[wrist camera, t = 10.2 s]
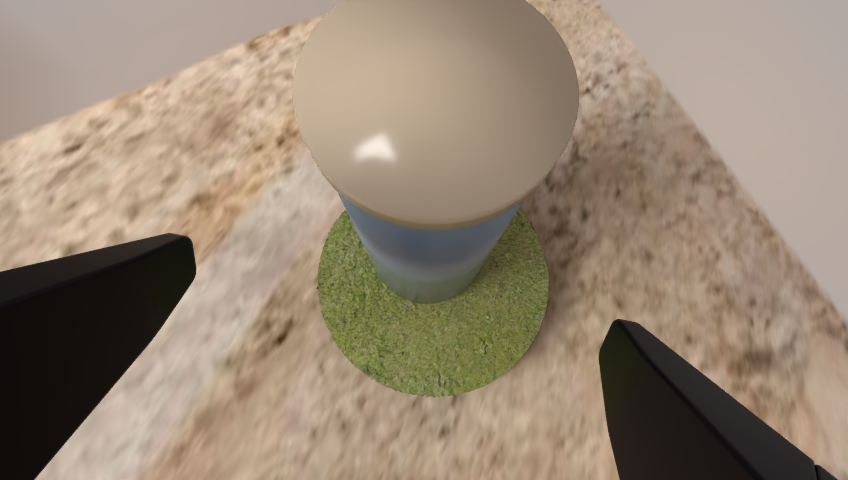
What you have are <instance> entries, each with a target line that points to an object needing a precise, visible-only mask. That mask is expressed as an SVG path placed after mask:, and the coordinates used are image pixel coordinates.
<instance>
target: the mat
mask: <svg viewBox="0 0 848 480" xmlns="http://www.w3.org/2000/svg"><path fill="white" fill-rule="evenodd" d="M545 257H546V256H545V253H544V251H543V248H542V244H541V242H540V239H539V237H538V235H537V233H536V232H534V228H533V227H532V223H531V222H529V221H528V218H527V216H526V215H525V214H524V213H523V212H522V210H521V209H520V208H518V210H517V212H516V213H515V215H514V216H513V218H512V220H511V221H510V223H509V224H508V226H507V227H506V229H505V231H504V232H503V234H502V235H501V237H500V239H499V240H498V242H497V243H496V245H495V247H494V248H493V250H492V251H491V253H490V255H489V256H488V258H487V259H486V261H485V263H484V264H483V266H482V267H481V269H480V271H479V272H478V274H477V275H476V277H475V278H474V280H473V281H472V283H471V284H470V285H469V286H468V287H467V288H466V289H465V290H464V291H463V292H462V293H460V294H459V295H457V296H456V297H454V298H452V299H449V300H447V301H444V302H441V303H435V304H420V303H414V302H410V301H408V300H405V299H403V298H401V297H399V296H397V295H396V294H394V293H393V292H391V291H390V290H389V289H388V288H387V287H386V286H385V285H384V284H383V282H382V281H381V280H380V278H379V276H378V275H377V273H376V271H375V269H374V267H373V264H372V262H371V260H370V258H369V256H368V254H367V252H366V250H365V248H364V246H363V244H362V242H361V240H360V238H359V236H358V233H357V231H356V229H355V227H354V225H353V223H352V221H351V219H350V217H349V215H348V213H347V211H346V209H345V211H344V212H343V213H342V214H341V215H340V217H339V218H338V219H337V221H336V222H335V223H334V225H333V227H332V229H331V232H329V236H328V238H327V239H326V242H325V244H324V247H323V251H322V255H321V259H320V264H319V270H318V287H317V289H318V290H319V299H320V307H321V309H322V311H321V312H322V314H323V317H324V320H325V322H326V325H327V327H328V329H329V331H330V332H331V333H332V335H333V338H334V341H335V342H336V344H337V346H338V347H339V349H341V350H342V352H343V354H344V355H345V356H346V357H347V358H348V359H349V360H350V361H351V362H352V364H355V367H357V368H358V369H360V370H361V371H362V372H363V373H365V374H366V375H367V376H368V377H370V378H371V379H375V380H376V381H377V382H379V383H380V384H382V385H384V386H386V387H389V388H392V389H394V390H396V391H397V390H399V391H401V392H404V393H408V394H413V395H416V394H417V395H421V396H424V395H425V396H427V397H429V396H433V397H436V396H438V397H441V396H450V395H458V394H463V393H464V392H470V391H473V390H475V389H477V388H480V387H483V386H484V385H486V384H488V383H490V382H492V381H494V380H495V379H497V378H498V377H500V376H502V375H503V374H505V373H506V372H507V371H508V370H509V369H510V368H512V367H513V366H514V364H516V363H517V362H518V360H519V359H520V358H521V357H522V356H523V355H524V354H525V353H526V351H527V350H528V349H529V347H530V346H531V344H532V342H533V341H534V339H535V337H536V335H537V333H538V331H539V328H540V327H541V324H542V321H543V318H544V316H545V312H546V309H545V308H546V306H547V301H548V292H549V288H548V286H549V274H548V266H547V264H546V261H547V260H546V258H545Z"/></svg>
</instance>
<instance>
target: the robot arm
mask: <svg viewBox="0 0 848 480" xmlns="http://www.w3.org/2000/svg"><path fill="white" fill-rule="evenodd" d="M195 275H196V263H195V256H194V249H193V243H192V241H191V239H190V238H189V237H187V236H184V235H178V234H173V233H167V234H163V235H158V236H154V237H149V238H145V239H141V240H136V241H132V242H128V243H123V244H119V245H115V246H110V247H106V248H102V249H97V250H93V251H89V252H84V253H80V254H76V255H71V256H67V257H62V258H58V259H54V260H49V261H45V262H41V263H36V264H32V265H28V266H23V267H19V268H15V269H10V270H6V271H2V272H0V480H35V478H36V477H37V476H38V475H39V474H40V472H41V471H42V470H43V469H44V468H45V467H46V465H47V464H48V463H49V462H50V461H51V459H52V458H53V457H54V456H55V455H56V453H57V452H58V451H59V450H60V449H61V448H62V446H63V445H64V444H65V443H66V442H67V440H68V439H69V438H70V437H71V436H72V435H73V433H74V432H75V431H76V430H77V429H78V427H79V426H80V425H81V424H82V423H83V422H84V420H85V419H86V418H87V417H88V416H89V414H90V413H91V412H92V411H93V410H94V408H95V407H96V406H97V405H98V404H99V403H100V401H101V400H102V399H103V398H104V397H105V395H106V394H107V393H108V392H109V391H110V390H111V388H112V387H113V386H114V385H115V384H116V382H117V381H118V380H119V379H120V378H121V377H122V375H123V374H124V373H125V372H126V371H127V369H128V368H129V367H130V366H131V365H132V363H133V362H134V361H135V360H136V359H137V358H138V356H139V355H140V354H141V353H142V352H143V350H144V349H145V348H146V347H147V346H148V344H149V343H150V342H151V341H152V339H153V338H154V337H155V336H156V334H157V333H158V331H159V330H160V329H161V327H162V326H163V324H164V323H165V322H166V320H167V319H168V317H169V316H170V314H171V313H172V311H173V310H174V308H175V307H176V305H177V304H178V302H179V301H180V300H181V298H182V297H183V295H184V294H185V292H186V291H187V289H188V288H189V286H190V285H191V283H192V282H193V280H194V278H195ZM599 365H600V373H601V381H602V389H603V397H604V405H605V413H606V420H607V427H608V432H609V437H610V441H611V445H612V449H613V453H614V458H615V462H616V466H617V470H618V474H619V478H620V480H837V479H836V478H835V477H834V476H832V475H831V474H830V473H829V472H827V471H826V470H825V469H824V468H822V467H821V466H820V465H815V464H814V461H813V460H812V459H811V458H809V457H808V456H807V455H806V454H804V453H803V452H802V451H800V450H799V449H798V448H797V447H795V446H794V445H793V444H791V443H790V442H789V441H788V440H786V439H785V438H784V437H783V436H781V435H780V434H779V433H777V432H776V431H775V430H774V429H772V428H771V427H770V426H769V425H767V424H766V423H765V422H763V421H762V420H761V419H760V418H758V417H757V416H756V415H754V414H753V413H752V412H751V411H749V410H748V409H747V408H746V407H744V406H743V405H742V404H740V403H739V402H738V401H737V400H735V399H734V398H733V397H732V396H730V395H729V394H728V393H726V392H725V391H724V390H723V389H721V388H720V387H719V386H718V385H716V384H715V383H714V382H712V381H711V380H710V379H709V378H707V377H706V376H705V375H703V374H702V373H701V372H700V371H698V370H697V369H696V368H695V367H693V366H692V365H691V364H689V363H688V362H687V361H686V360H684V359H683V358H682V357H681V356H679V355H678V354H677V353H675V352H674V351H673V350H672V349H670V348H669V347H668V346H667V345H665V344H664V343H663V342H661V341H660V340H659V339H658V338H656V337H655V336H654V335H653V334H651V333H650V332H649V331H647V330H646V329H645V328H644V327H642V326H641V325H640V324H638V323H636V322H632V321H627V320H622V319H617V320H615V321H614V322H613V323H612V325H611V326H610V329H609V331H608V333H607V335H606V337H605V340H604V342H603V344H602V346H601V348H600V352H599Z"/></svg>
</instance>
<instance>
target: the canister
mask: <svg viewBox="0 0 848 480" xmlns="http://www.w3.org/2000/svg"><path fill="white" fill-rule="evenodd" d="M293 105H294V112H295V116H296V120H297V124H298V128H299V130H300V132H301V135H302V137H303V139H304V142H305V144H306V146H307V148H308V150H309V151H310V153H311V155H312V157H313V159H314V161H315V163H316V164H317V166H318V168H319V169H320V171H321V173H322V174H323V176H324V177H325V178H326V179H327V181H328V182H329V183H330V184H331V185H332V187H333V188H334V189H335V190H336V191H337V192H338V194H339V196H340V198H341V200H342V202H343V204H344V207H345V209H346V211H347V213H348V215H349V217H350V219H351V221H352V223H353V225H354V227H355V229H356V231H357V233H358V236H359V238H360V240H361V242H362V244H363V246H364V248H365V250H366V252H367V254H368V256H369V258H370V260H371V262H372V264H373V267H374V269H375V271H376V273H377V275H378V276H379V278H380V280H381V281H382V282H383V284H384V285H385V286H386V287H387V288H388V289H389V290H390V291H391V292H393V293H394V294H396V295H397V296H399V297H401V298H403V299H405V300H408V301H410V302H414V303H420V304H435V303H441V302H444V301H447V300H449V299H452V298H454V297H456V296H457V295H459V294H460V293H462V292H463V291H464V290H465V289H466V288H467V287H468V286H469V285H470V284H471V283H472V281H473V280H474V278H475V277H476V275H477V274H478V272H479V271H480V269H481V267H482V266H483V264H484V263H485V261H486V259H487V258H488V256H489V255H490V253H491V251H492V250H493V248H494V247H495V245H496V243H497V242H498V240H499V239H500V237H501V235H502V234H503V232H504V231H505V229H506V227H507V226H508V224H509V223H510V221H511V220H512V218H513V216H514V215H515V213H516V212H517V210H518V208H519V207H520V205H521V204H522V202H523V201H524V200H525V199H526V198H527V197H529V196H530V195H531V194H532V193H533V192H534V191H535V190H536V189H537V188H538V186H539V185H540V184H541V183H542V182H543V181H544V179H545V178H546V176H547V175H548V173H549V172H550V171H551V169H552V168H553V166H554V165H555V163H556V162H557V160H558V159H559V157H560V156H561V154H562V153H563V151H564V150H565V148H566V146H567V143H568V141H569V139H570V137H571V135H572V132H573V129H574V126H575V122H576V119H577V112H578V105H579V86H578V80H577V74H576V70H575V67H574V63H573V60H572V57H571V55H570V53H569V51H568V49H567V47H566V45H565V43H564V41H563V39H562V38H561V36H560V35H559V34H558V32H557V31H556V29H555V28H554V27H553V26H552V24H551V23H550V22H549V21H548V20H547V19H546V18H545V16H543V15H542V14H541V13H540V12H539V11H538V10H537V9H536V8H534V7H533V6H532V5H531V4H529V3H528V2H526V1H525V0H343V1H342V2H341V3H339V4H338V5H337V6H336V7H334V8H333V9H332V10H331V11H330V12H329V13H328V14H327V15H326V16H325V17H324V18H323V19H322V20H321V21H320V22H319V23H318V25H317V26H316V27H315V29H314V30H313V31H312V33H311V34H310V36H309V37H308V39H307V41H306V43H305V45H304V46H303V48H302V51H301V54H300V56H299V59H298V61H297V65H296V69H295V74H294V79H293Z"/></svg>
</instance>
